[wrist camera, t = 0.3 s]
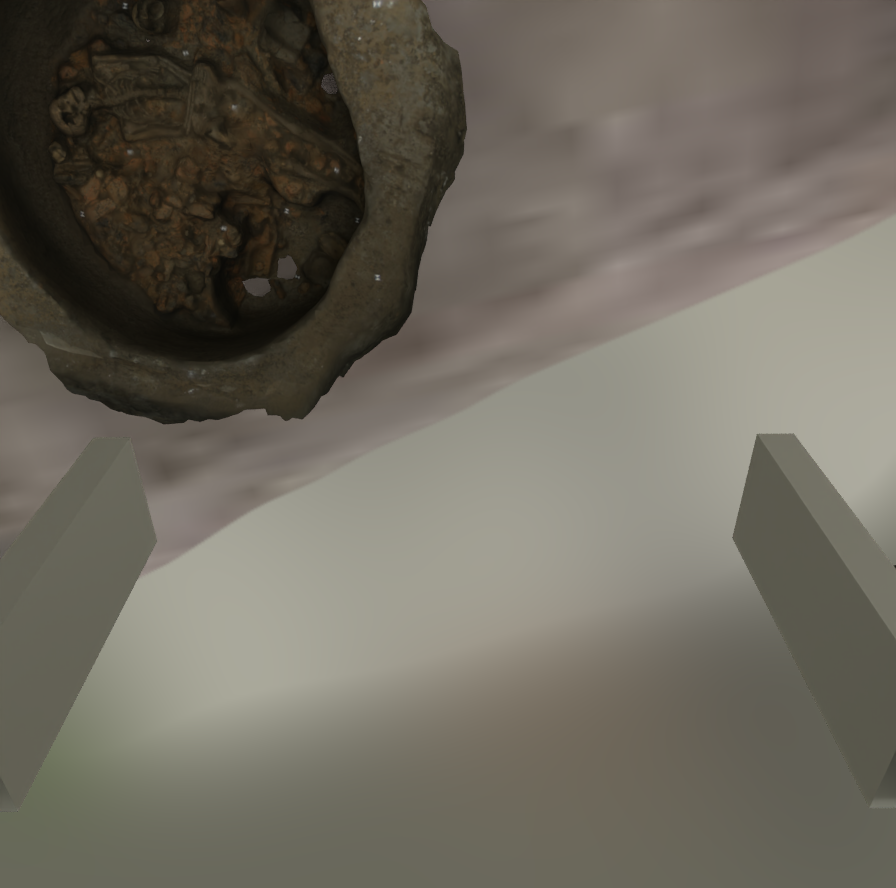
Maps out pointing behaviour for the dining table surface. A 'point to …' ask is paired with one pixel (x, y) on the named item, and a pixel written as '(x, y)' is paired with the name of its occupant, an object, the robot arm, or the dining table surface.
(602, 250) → the dining table surface
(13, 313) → the stone bowl
